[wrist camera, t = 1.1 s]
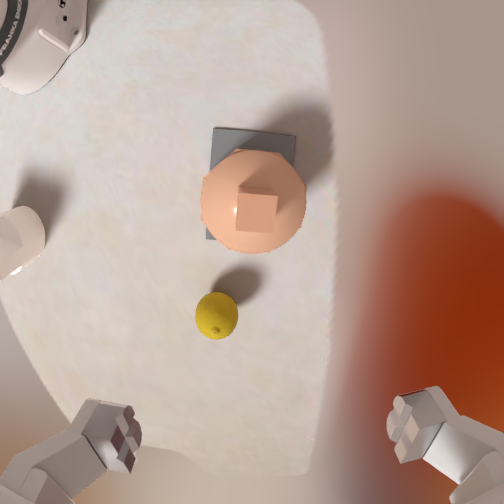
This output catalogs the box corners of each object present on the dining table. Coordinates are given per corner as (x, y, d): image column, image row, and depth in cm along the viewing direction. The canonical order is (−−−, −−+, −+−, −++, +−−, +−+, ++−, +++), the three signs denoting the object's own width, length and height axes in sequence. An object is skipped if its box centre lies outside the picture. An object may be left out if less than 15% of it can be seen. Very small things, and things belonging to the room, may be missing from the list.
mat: (213, 128, 34) (213, 128, 33) (295, 136, 34) (295, 136, 34) (206, 238, 39) (205, 239, 38) (282, 243, 39) (283, 244, 39)
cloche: (213, 146, 34) (197, 146, 21) (292, 153, 35) (324, 159, 22) (208, 222, 37) (192, 266, 24) (283, 228, 38) (307, 274, 25)
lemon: (204, 277, 40) (197, 308, 33) (242, 288, 41) (244, 320, 34) (195, 310, 42) (187, 344, 35) (231, 320, 43) (231, 355, 36)
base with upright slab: (6, 249, 37) (-37, 277, 26) (10, 199, 35) (-40, 219, 23) (43, 267, 39) (0, 302, 28) (48, 215, 36) (-2, 241, 25)
